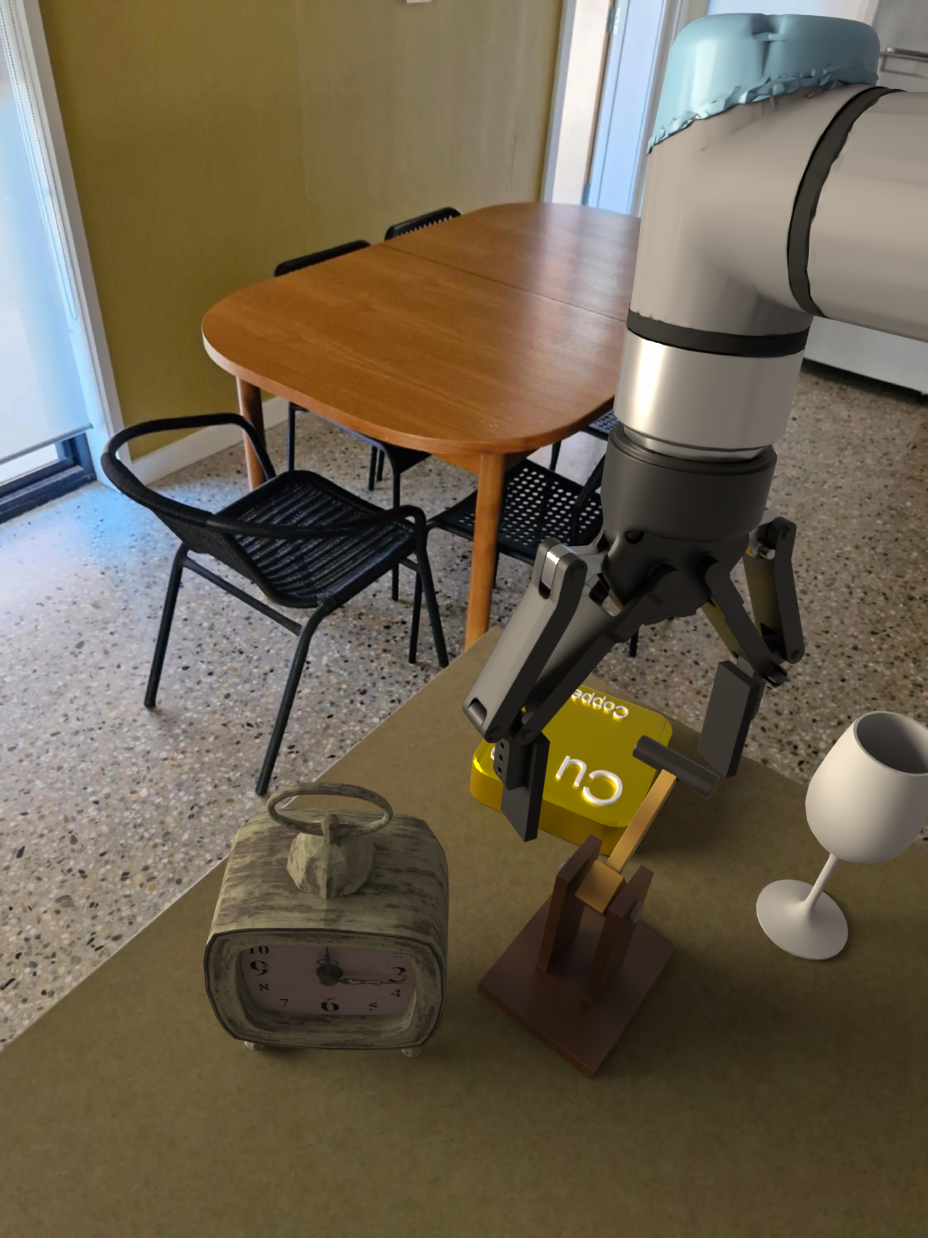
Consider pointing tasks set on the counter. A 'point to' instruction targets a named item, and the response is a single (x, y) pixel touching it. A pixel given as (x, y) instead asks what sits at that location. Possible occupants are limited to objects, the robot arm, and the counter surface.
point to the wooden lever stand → (579, 966)
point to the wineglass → (852, 825)
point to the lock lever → (643, 819)
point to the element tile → (586, 768)
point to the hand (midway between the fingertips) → (622, 792)
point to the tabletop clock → (331, 928)
